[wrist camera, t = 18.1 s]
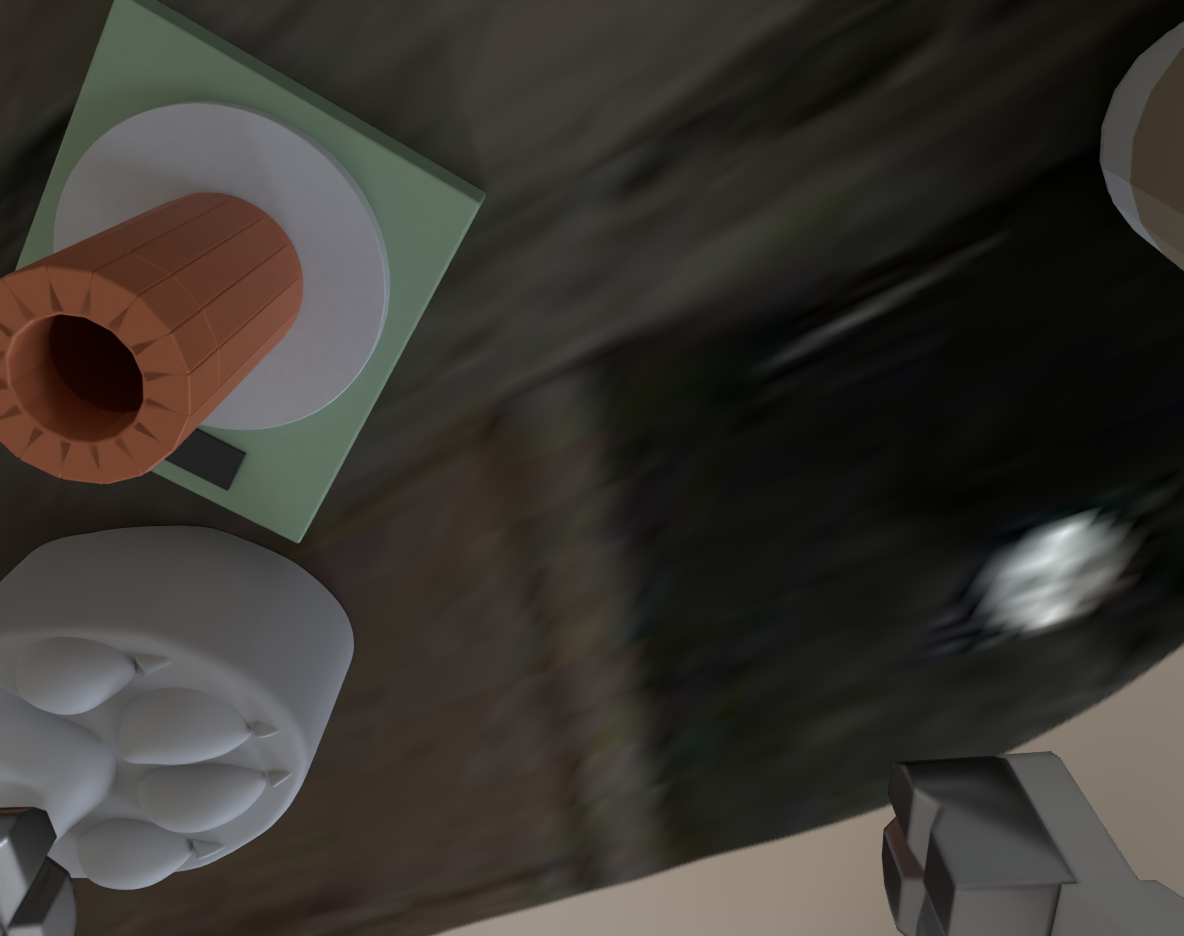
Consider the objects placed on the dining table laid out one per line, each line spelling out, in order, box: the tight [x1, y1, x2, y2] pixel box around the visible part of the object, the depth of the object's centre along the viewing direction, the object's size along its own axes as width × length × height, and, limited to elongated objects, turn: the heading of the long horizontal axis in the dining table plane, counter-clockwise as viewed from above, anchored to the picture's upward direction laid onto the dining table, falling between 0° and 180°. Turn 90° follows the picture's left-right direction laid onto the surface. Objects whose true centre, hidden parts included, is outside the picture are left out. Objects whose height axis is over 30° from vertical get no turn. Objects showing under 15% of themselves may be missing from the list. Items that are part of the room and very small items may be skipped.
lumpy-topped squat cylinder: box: [0, 526, 354, 889], centre depth 38 cm, size 10×13×9 cm
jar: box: [0, 192, 303, 484], centre depth 29 cm, size 5×5×10 cm
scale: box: [15, 0, 486, 543], centre depth 35 cm, size 14×12×3 cm
